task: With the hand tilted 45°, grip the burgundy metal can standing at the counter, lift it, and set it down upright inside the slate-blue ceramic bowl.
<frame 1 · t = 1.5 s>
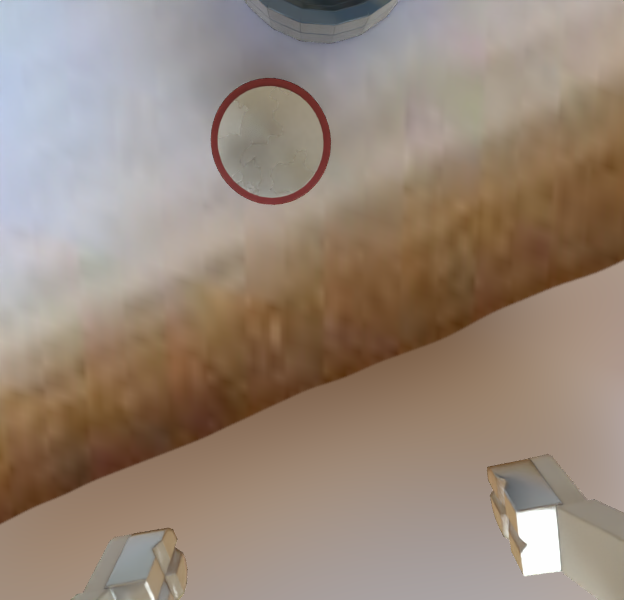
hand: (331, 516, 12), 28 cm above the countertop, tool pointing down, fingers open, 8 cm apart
can: (280, 146, 35), on the countertop
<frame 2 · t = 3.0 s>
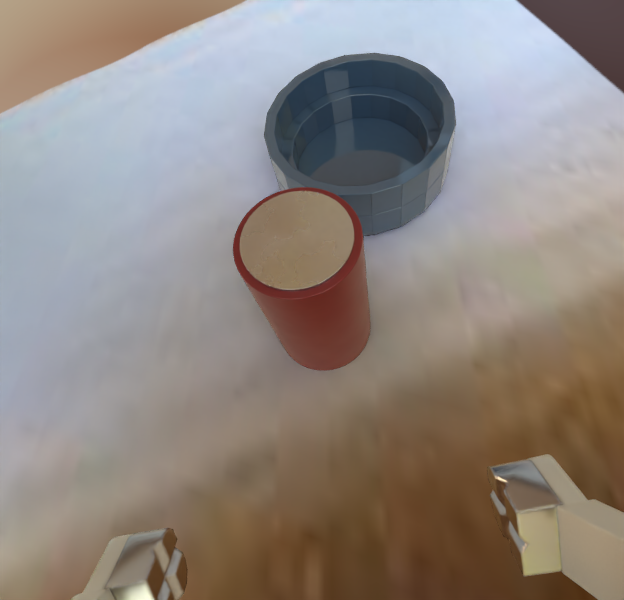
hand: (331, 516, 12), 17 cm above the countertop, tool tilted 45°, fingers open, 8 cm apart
bowl: (360, 169, 38), on the countertop
can: (324, 326, 32), on the countertop
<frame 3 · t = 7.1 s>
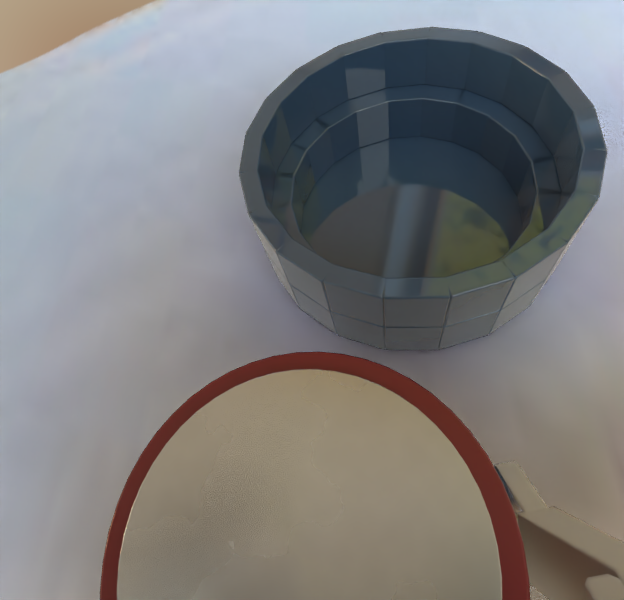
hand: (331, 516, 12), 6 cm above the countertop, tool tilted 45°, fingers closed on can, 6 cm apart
bowl: (406, 224, 23), on the countertop
can: (355, 539, 17), on the countertop, touching gripper
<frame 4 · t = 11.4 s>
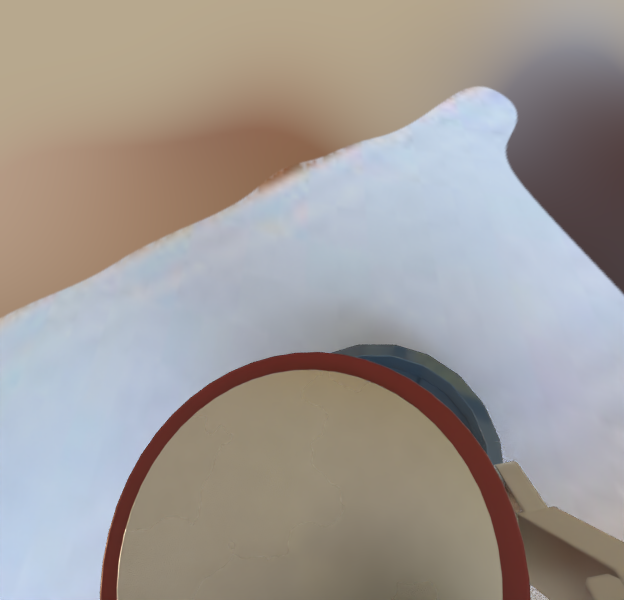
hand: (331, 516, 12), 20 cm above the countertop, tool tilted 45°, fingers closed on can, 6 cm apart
bowl: (379, 467, 31), on the countertop
can: (355, 539, 17), point 14 cm above the countertop, touching gripper
when the fingers open (7 cm above the countertop, at t = 16.1 s): can stays where it is, resting on bowl.
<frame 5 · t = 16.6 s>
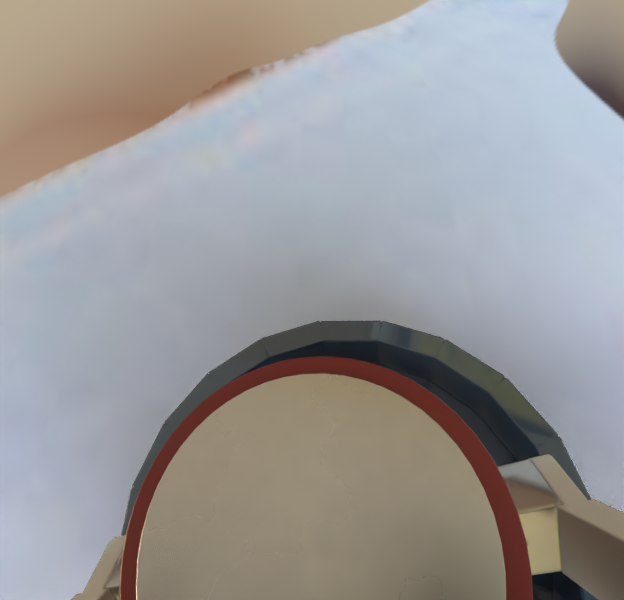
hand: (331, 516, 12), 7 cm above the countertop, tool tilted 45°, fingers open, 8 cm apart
bowl: (357, 538, 18), on the countertop
can: (360, 537, 17), point 1 cm above the countertop, touching bowl
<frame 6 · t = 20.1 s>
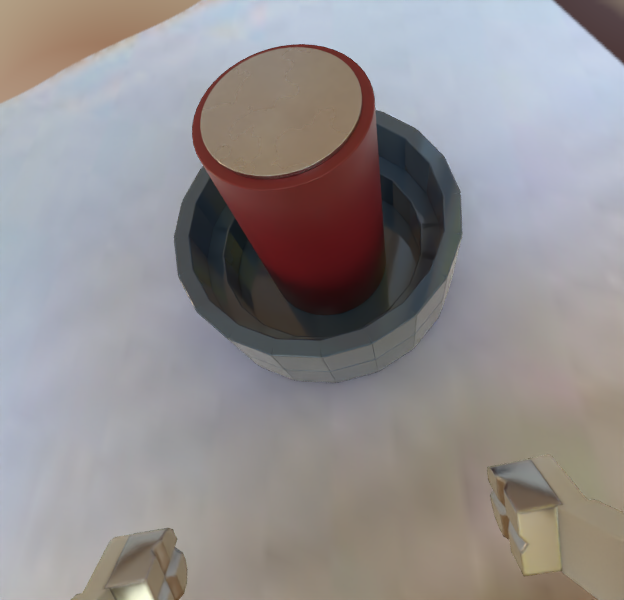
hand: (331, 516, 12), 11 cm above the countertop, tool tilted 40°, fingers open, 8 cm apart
bowl: (327, 267, 27), on the countertop
can: (328, 262, 26), point 1 cm above the countertop, touching bowl
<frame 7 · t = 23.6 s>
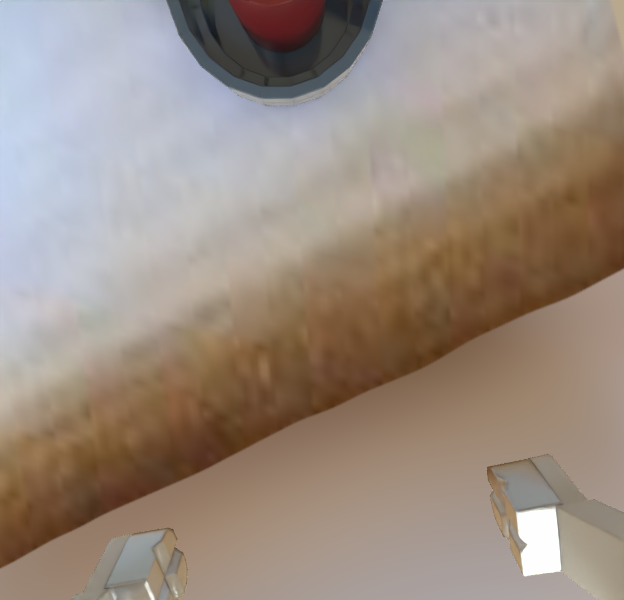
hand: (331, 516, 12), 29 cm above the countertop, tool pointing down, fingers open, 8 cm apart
bowl: (279, 6, 34), on the countertop
can: (280, 3, 33), point 1 cm above the countertop, touching bowl
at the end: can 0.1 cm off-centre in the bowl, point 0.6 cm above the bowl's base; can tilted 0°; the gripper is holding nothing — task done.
